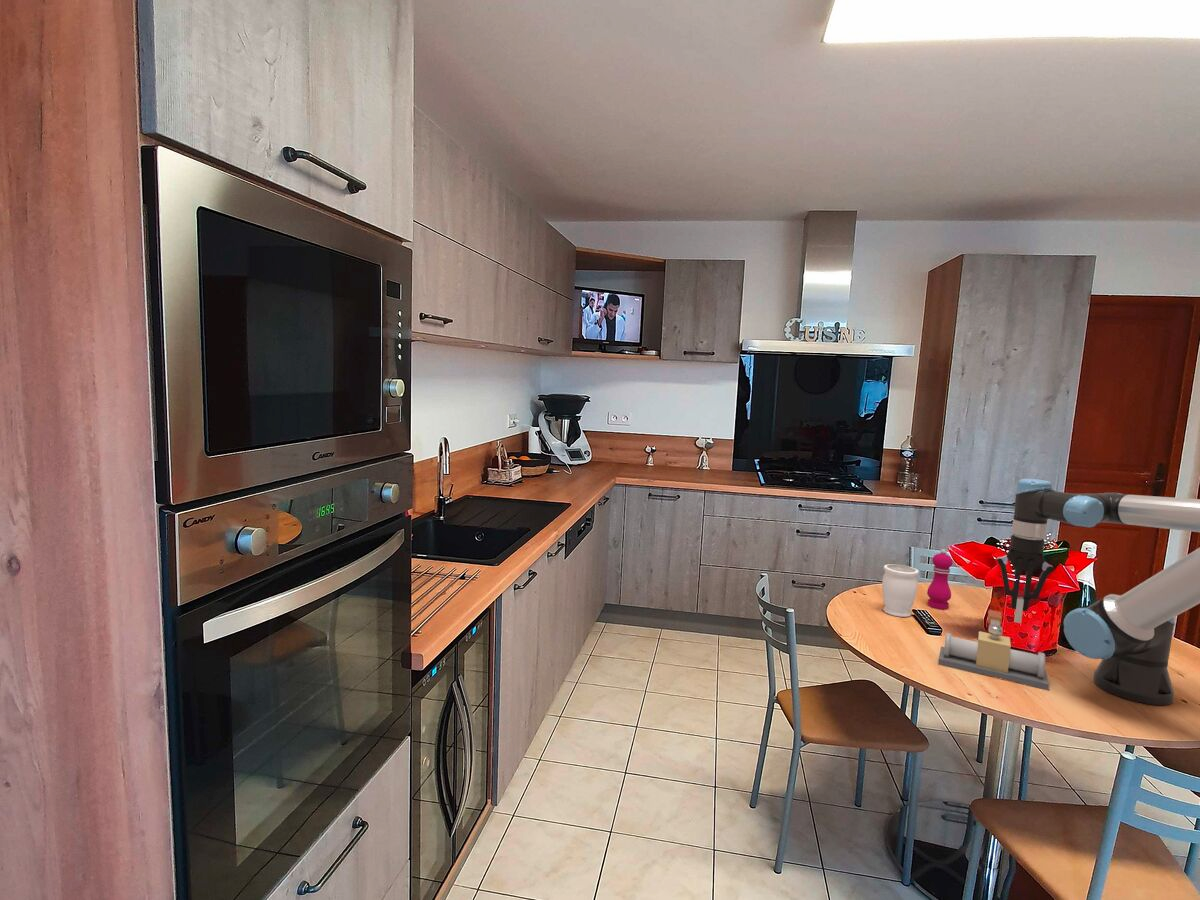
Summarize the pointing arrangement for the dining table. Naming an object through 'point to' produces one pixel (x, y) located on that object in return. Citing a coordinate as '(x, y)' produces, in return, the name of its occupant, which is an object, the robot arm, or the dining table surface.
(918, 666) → the dining table surface
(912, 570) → the jar
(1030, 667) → the valve
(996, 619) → the valve lever
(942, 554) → the pepper mill
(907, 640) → the dining table surface
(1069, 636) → the robot arm
